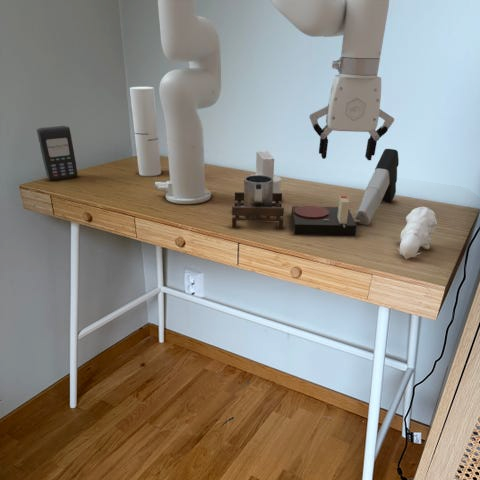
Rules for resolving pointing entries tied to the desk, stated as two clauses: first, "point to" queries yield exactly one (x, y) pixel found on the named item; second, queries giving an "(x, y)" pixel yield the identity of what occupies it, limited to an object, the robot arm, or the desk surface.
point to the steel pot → (258, 191)
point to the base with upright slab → (267, 169)
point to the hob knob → (343, 210)
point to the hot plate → (311, 211)
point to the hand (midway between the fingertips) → (345, 158)
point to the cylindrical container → (145, 130)
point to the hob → (323, 224)
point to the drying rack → (257, 211)
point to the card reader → (57, 152)
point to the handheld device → (379, 186)
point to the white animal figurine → (417, 231)
